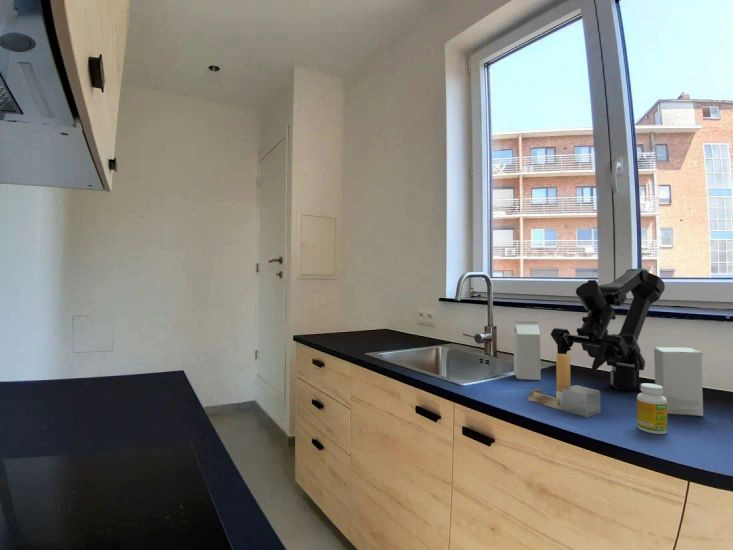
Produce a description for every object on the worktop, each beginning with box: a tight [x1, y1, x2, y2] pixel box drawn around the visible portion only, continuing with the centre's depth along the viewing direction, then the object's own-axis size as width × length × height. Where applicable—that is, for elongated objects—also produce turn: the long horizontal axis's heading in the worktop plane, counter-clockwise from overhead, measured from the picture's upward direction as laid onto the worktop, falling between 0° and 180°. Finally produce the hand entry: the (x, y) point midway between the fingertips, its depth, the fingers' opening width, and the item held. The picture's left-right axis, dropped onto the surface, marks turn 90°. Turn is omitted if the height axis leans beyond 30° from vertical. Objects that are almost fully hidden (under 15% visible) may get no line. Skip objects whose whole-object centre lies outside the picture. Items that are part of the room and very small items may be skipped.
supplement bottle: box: [636, 382, 668, 435], centre depth 87 cm, size 5×5×10 cm
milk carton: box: [513, 320, 541, 381], centre depth 134 cm, size 7×7×19 cm
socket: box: [562, 384, 601, 418], centre depth 99 cm, size 6×6×6 cm
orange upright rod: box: [555, 353, 571, 405], centre depth 101 cm, size 8×3×12 cm, turn 32°
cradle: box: [527, 388, 563, 411], centre depth 106 cm, size 10×6×2 cm, turn 32°
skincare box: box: [653, 346, 704, 417], centre depth 99 cm, size 8×7×16 cm
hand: (575, 366), depth 106 cm, fingers open, 9 cm apart
